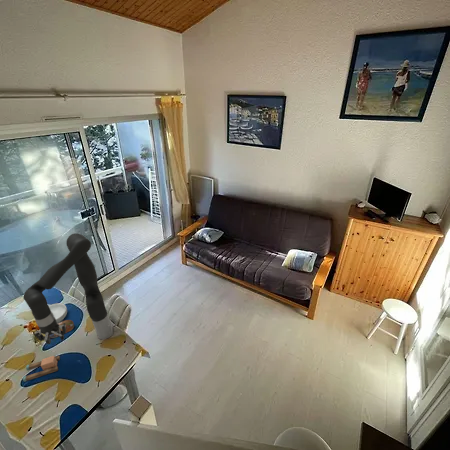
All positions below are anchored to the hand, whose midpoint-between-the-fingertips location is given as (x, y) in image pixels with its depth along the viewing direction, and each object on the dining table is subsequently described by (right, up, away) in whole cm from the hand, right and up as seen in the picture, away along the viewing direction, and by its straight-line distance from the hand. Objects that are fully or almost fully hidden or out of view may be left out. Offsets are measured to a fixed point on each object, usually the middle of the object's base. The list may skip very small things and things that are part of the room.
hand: (56, 340), depth 135 cm
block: (-8, -18, +7) cm, 21 cm away
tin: (-14, -7, +26) cm, 31 cm away
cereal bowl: (-25, -2, +35) cm, 43 cm away
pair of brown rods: (-12, -19, +5) cm, 23 cm away
